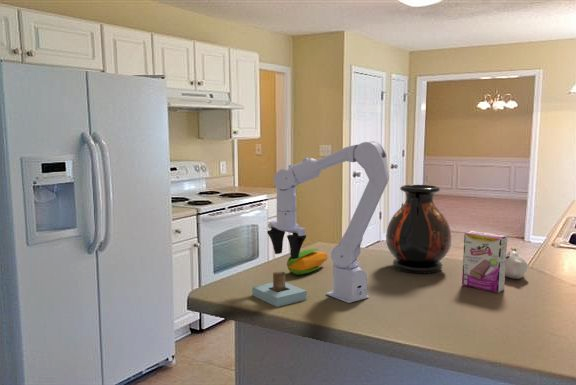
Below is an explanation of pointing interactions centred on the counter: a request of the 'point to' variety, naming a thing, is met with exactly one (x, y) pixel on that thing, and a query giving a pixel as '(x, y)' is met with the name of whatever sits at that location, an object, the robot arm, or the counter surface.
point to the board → (279, 294)
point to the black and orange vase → (418, 232)
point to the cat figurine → (515, 265)
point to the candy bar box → (484, 261)
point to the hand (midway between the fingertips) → (286, 255)
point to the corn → (306, 261)
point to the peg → (278, 281)
